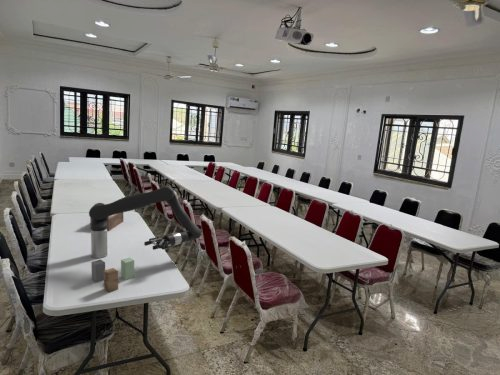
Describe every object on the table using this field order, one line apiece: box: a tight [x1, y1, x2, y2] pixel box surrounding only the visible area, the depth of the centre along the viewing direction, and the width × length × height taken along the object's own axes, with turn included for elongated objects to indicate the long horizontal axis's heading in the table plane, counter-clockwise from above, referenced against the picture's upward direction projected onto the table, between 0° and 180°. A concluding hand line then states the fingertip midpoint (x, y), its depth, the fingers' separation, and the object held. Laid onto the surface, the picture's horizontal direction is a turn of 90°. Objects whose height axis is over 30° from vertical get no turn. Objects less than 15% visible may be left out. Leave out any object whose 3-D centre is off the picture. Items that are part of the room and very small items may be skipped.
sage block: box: [120, 257, 135, 281], centre depth 188 cm, size 5×5×10 cm
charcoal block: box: [91, 259, 106, 283], centre depth 183 cm, size 5×5×10 cm
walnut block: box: [103, 267, 119, 293], centre depth 174 cm, size 5×5×10 cm
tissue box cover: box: [89, 212, 124, 232], centre depth 272 cm, size 26×14×10 cm, turn 177°
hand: (148, 245), depth 196 cm, fingers open, 8 cm apart
